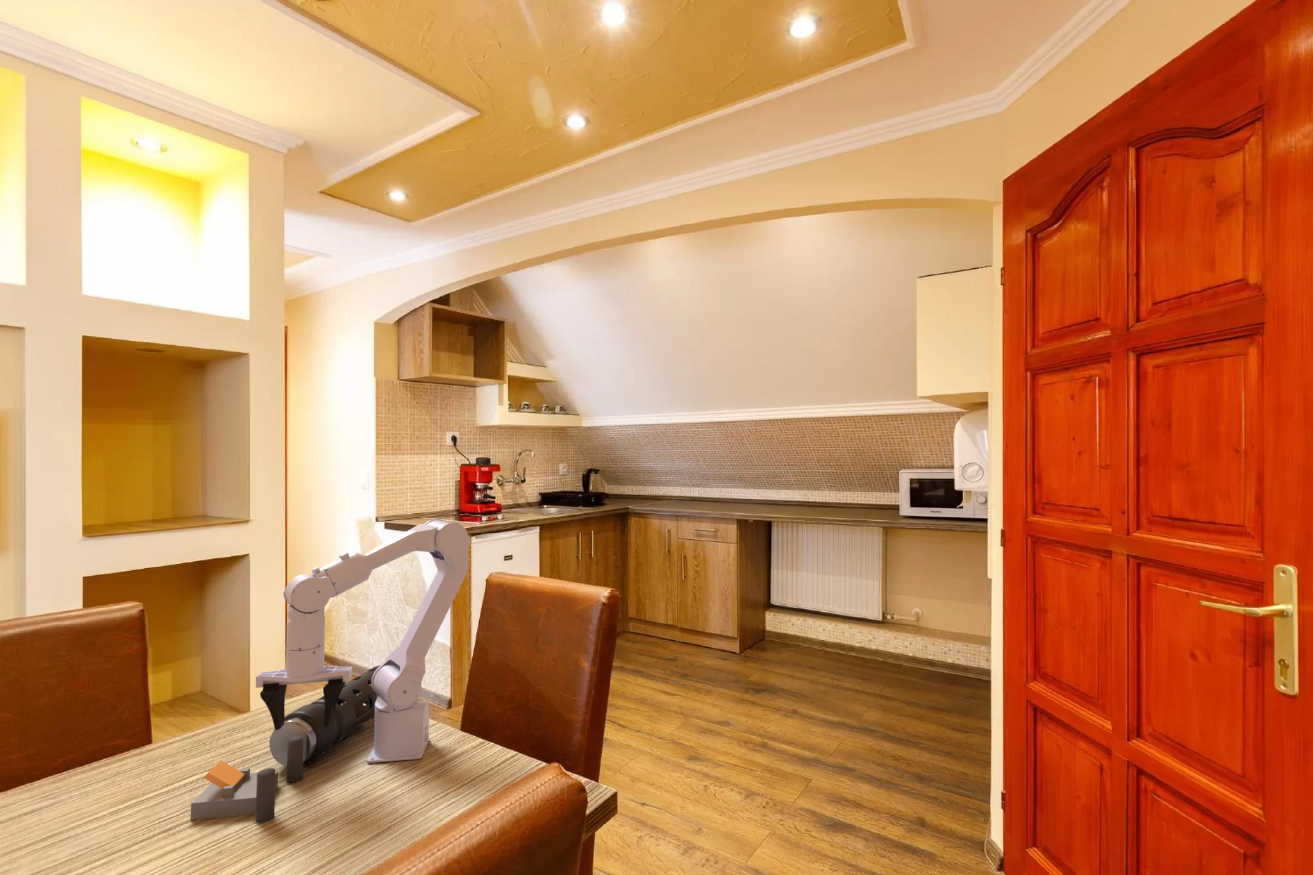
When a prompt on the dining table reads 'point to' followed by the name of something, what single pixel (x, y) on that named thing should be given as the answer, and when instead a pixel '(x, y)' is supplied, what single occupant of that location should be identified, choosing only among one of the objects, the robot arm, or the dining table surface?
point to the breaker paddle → (224, 775)
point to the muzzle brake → (312, 720)
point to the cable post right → (294, 759)
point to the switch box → (228, 798)
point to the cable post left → (265, 795)
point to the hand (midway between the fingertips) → (304, 725)
